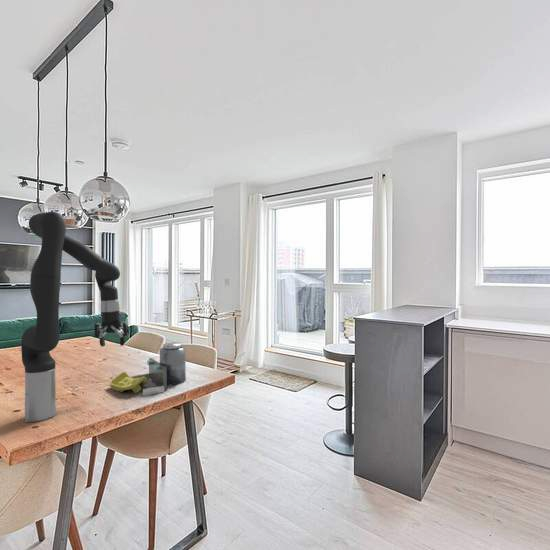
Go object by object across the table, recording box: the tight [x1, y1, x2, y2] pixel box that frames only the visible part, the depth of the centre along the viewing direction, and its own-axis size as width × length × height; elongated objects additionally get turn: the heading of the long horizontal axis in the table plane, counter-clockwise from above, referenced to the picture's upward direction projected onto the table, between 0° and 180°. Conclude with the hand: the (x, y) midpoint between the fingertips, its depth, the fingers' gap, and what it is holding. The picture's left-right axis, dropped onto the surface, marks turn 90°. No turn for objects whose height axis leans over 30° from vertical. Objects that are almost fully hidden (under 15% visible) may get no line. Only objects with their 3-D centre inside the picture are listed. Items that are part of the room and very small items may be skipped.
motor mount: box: [129, 341, 187, 397], centre depth 162 cm, size 23×26×18 cm
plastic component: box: [108, 371, 148, 394], centre depth 154 cm, size 20×7×10 cm
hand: (112, 345), depth 152 cm, fingers open, 8 cm apart
